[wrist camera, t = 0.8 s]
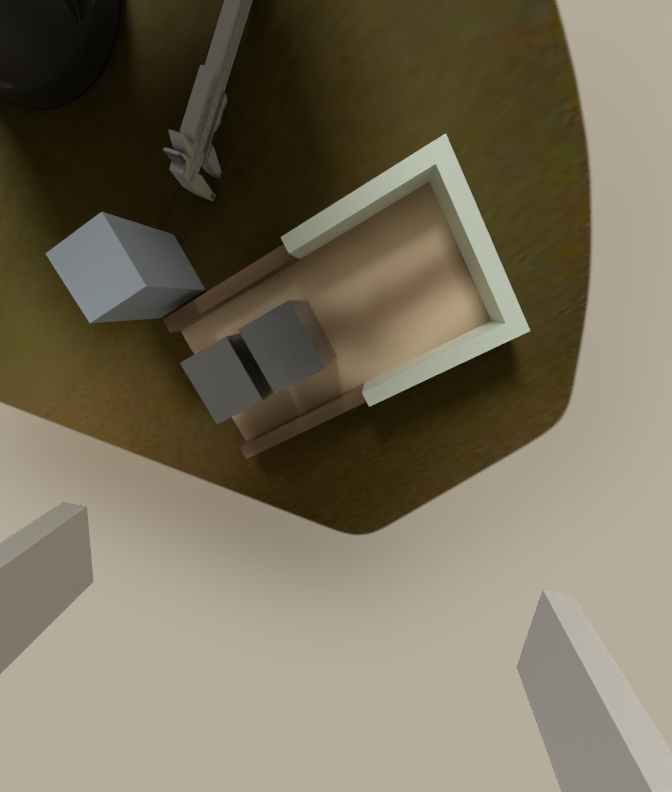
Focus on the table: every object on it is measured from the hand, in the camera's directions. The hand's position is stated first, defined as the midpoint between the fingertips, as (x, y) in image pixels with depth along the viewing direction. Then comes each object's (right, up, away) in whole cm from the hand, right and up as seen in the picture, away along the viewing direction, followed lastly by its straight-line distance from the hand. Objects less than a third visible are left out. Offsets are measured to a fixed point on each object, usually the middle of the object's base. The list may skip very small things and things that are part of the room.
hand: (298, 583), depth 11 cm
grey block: (-13, +16, +21) cm, 29 cm away
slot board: (+1, +12, +20) cm, 23 cm away
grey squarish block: (-6, +8, +21) cm, 23 cm away
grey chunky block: (-2, +10, +20) cm, 22 cm away
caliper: (-6, +30, +16) cm, 35 cm away
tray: (+6, +14, +18) cm, 24 cm away
